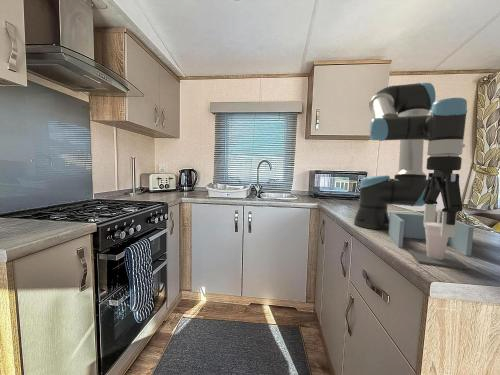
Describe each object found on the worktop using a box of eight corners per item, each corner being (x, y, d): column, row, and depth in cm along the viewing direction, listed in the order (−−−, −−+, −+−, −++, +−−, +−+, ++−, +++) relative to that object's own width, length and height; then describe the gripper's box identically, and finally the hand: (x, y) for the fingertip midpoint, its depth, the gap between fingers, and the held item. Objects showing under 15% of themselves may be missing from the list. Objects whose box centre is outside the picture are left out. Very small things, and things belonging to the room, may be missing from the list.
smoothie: (450, 257, 68) (454, 210, 67) (448, 263, 63) (452, 212, 62) (423, 251, 72) (427, 207, 71) (419, 256, 68) (423, 209, 67)
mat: (407, 250, 75) (407, 248, 75) (449, 255, 71) (450, 253, 71) (418, 263, 65) (418, 261, 65) (468, 270, 61) (468, 267, 61)
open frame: (388, 234, 93) (390, 212, 93) (447, 240, 87) (449, 217, 86) (398, 247, 78) (400, 220, 77) (470, 256, 71) (473, 227, 70)
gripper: (487, 153, 52) (477, 244, 54) (442, 158, 76) (436, 222, 78) (446, 153, 55) (438, 240, 57) (414, 158, 78) (409, 219, 80)
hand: (437, 230), depth 67 cm, fingers open, 13 cm apart
